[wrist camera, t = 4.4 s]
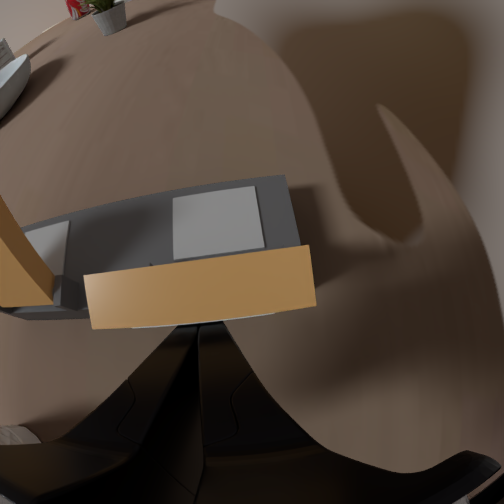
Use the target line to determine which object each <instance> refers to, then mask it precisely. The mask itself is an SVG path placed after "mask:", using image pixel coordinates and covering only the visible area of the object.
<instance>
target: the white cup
mask: <svg viewBox="0 0 504 504" xmlns="http://www.w3.org/2000/svg"><path fill="white" fill-rule="evenodd" d="M36 443H41V442H40V440H39V439H38V438H37V436H36V435H34V434H33V433H32V432H31V431H29V430H28V429H27V428H26V427H23V426H18V425H5V426H0V445H19V444H36Z"/></svg>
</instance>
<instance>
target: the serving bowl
mask: <svg viewBox="0 0 504 504" xmlns="http://www.w3.org/2000/svg"><path fill="white" fill-rule="evenodd" d="M30 72H31V64H30V60H29V57H28V54H24V55H22V56H20V57H18V58H16V59H15V60H13V61H12V62H10V63H9V64H8V65H6V66H5V67H4V68H3V69H1V70H0V120H1V119H2V118H3V116H4V115H5V114H6V113H7V112H8V111H9V110H10V108H11V107H12V106H13V104H14V103H15V101H16V100H17V98H18V97H19V96H20V94H21V93H22V91H23V90H24V88H25V86H26V84H27V82H28V79H29V76H30Z"/></svg>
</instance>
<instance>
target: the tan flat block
mask: <svg viewBox="0 0 504 504" xmlns="http://www.w3.org/2000/svg"><path fill="white" fill-rule="evenodd" d="M54 281H55V275H54V274H53V273H52V272H51V270H50V269H49V268H48V266H47V265H46V264H45V263H44V261H43V260H42V259H41V257H40V256H39V254H38V253H37V252H36V250H35V249H34V248H33V246H32V245H31V243H30V242H29V240H28V239H27V237H26V236H25V234H24V233H23V231H22V230H21V228H20V227H19V225H18V224H17V222H16V221H15V219H14V217H13V216H12V214H11V212H10V211H9V209H8V207H7V206H6V204H5V202H4V201H3V199H2V197H1V195H0V306H1V307H22V306H40V305H53V298H54Z"/></svg>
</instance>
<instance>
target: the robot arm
mask: <svg viewBox="0 0 504 504" xmlns="http://www.w3.org/2000/svg"><path fill="white" fill-rule="evenodd" d="M500 468H501V465H500V464H499V463H498V462H497V461H496V460H494V459H492V458H491V457H488V456H486V455H483V454H479V453H475V452H472V451H468V450H466V451H462V452H460V453H458V454H456V455H454V456H452V457H450V458H448V459H447V460H445V461H443V462H441V463H439V464H438V465H436V466H434V467H432V468H429V469H427V470H424V471H421V472H415V473H397V472H391V471H388V470H384V469H381V468H378V467H375V466H371V465H368V464H365V463H362V462H359V461H356V460H354V459H351V458H348V457H345V456H343V455H340V454H337V453H335V452H333V451H330V450H328V449H327V448H325V447H324V446H322V445H321V444H319V443H318V442H317V441H316V440H314V439H313V438H312V437H311V436H310V435H309V434H308V433H307V432H306V431H305V430H304V429H303V428H301V427H300V426H299V425H298V424H297V423H296V422H295V421H294V420H293V419H292V418H291V417H290V416H289V415H288V414H287V413H286V412H285V411H284V410H283V409H282V408H281V407H280V405H279V404H278V403H277V402H276V401H275V400H274V399H273V397H272V396H271V395H270V394H269V393H268V391H267V390H266V389H265V387H264V386H263V384H262V383H261V382H260V380H259V379H258V377H257V376H256V374H255V373H254V371H253V370H252V368H251V366H250V365H249V363H248V362H247V360H246V358H245V357H244V355H243V354H242V352H241V350H240V349H239V347H238V346H237V344H236V342H235V341H234V339H233V337H232V336H231V334H230V332H229V331H228V329H227V327H226V326H225V324H224V322H223V321H214V322H205V323H195V324H185V325H178V326H177V327H176V328H175V329H174V330H173V331H172V332H171V333H170V334H169V335H168V336H167V337H166V338H165V339H164V341H163V342H162V343H161V344H160V345H159V346H158V347H157V348H156V349H155V350H154V351H153V352H152V353H151V354H150V355H149V356H148V357H147V358H146V359H145V360H144V361H143V362H142V363H141V364H140V366H139V367H138V368H137V369H136V370H135V371H134V372H133V373H132V374H131V375H130V376H129V377H128V380H125V381H124V382H123V383H122V384H121V385H120V386H119V387H118V388H117V389H116V390H115V391H114V392H113V393H112V394H111V395H110V396H109V397H108V398H107V399H106V400H105V401H104V402H103V403H102V404H100V405H99V406H98V407H97V408H96V409H95V410H94V411H92V412H91V413H90V414H89V415H88V416H86V417H85V418H84V419H83V420H82V421H81V422H79V423H78V424H77V425H76V426H75V427H73V428H72V429H71V430H70V431H69V432H67V433H66V434H65V435H63V436H62V437H60V438H58V439H56V440H53V441H50V442H46V443H36V444H19V445H0V504H504V473H503V474H502V475H501V476H499V477H498V478H497V479H496V480H495V481H493V482H492V483H491V484H490V485H488V486H487V487H486V488H484V489H483V490H482V491H480V492H479V493H478V494H476V495H475V496H474V497H472V498H471V499H468V497H467V494H468V493H470V492H471V491H473V490H474V489H476V488H477V487H478V486H480V485H481V484H482V483H484V482H485V481H486V480H487V479H489V478H490V477H491V476H492V475H494V474H495V473H496V472H497V471H498V470H499V469H500Z"/></svg>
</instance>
